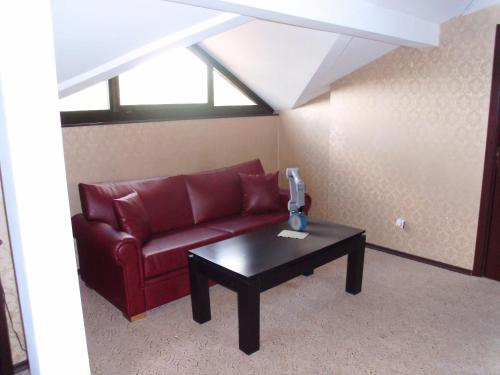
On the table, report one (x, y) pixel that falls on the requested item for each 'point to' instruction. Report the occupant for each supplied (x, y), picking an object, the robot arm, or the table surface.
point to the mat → (293, 234)
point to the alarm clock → (297, 221)
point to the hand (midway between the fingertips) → (300, 215)
